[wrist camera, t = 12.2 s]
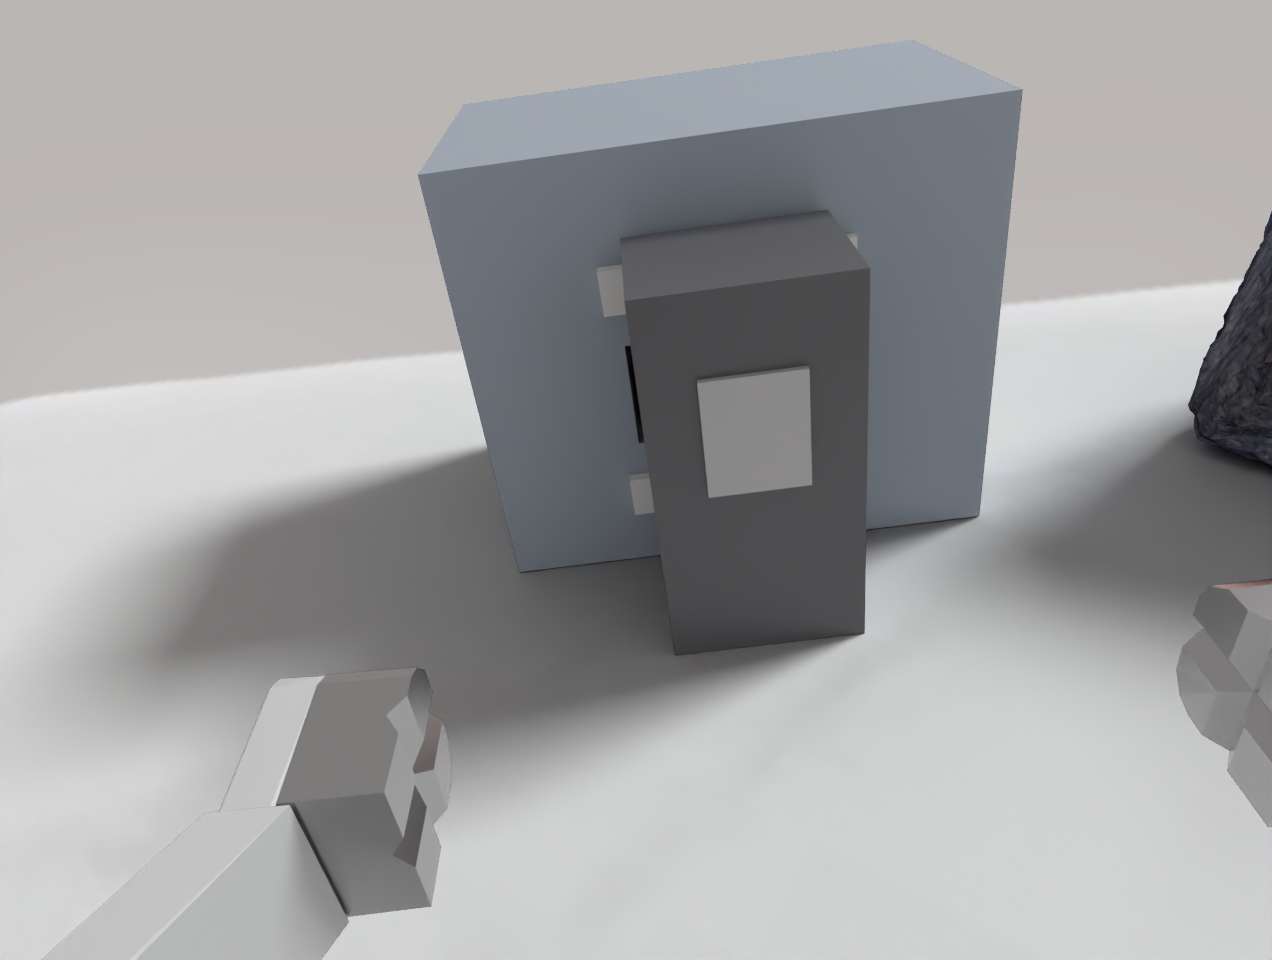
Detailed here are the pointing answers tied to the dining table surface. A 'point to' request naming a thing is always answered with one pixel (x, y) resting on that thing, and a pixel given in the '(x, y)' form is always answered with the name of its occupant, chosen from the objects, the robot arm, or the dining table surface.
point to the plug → (754, 425)
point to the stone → (1241, 368)
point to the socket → (712, 195)
